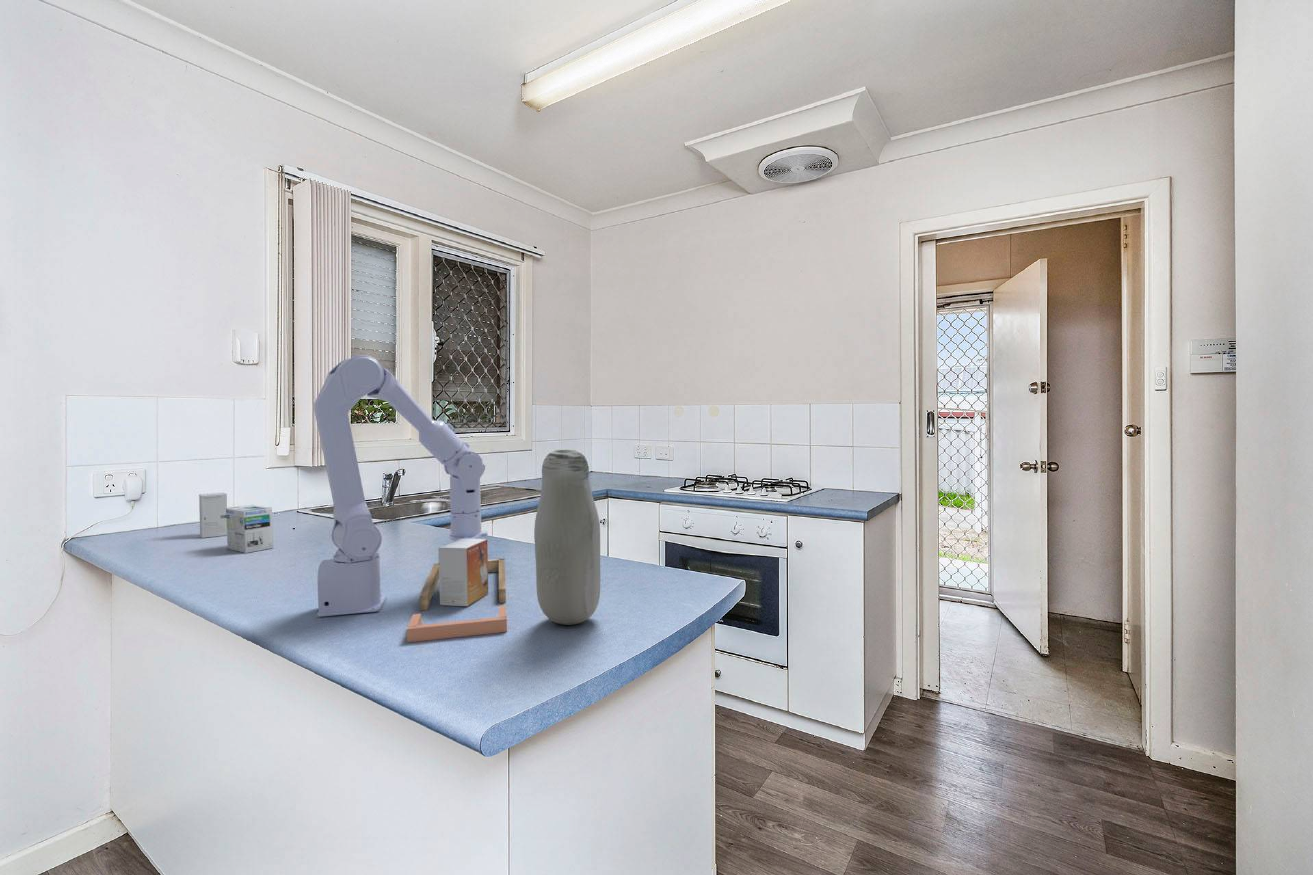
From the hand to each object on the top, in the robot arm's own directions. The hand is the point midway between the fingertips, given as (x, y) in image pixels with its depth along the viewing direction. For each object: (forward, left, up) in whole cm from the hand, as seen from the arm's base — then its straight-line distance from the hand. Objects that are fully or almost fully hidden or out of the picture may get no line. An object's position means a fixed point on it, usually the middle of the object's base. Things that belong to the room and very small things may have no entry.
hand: (467, 579), depth 114 cm
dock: (0, -24, -1) cm, 24 cm away
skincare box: (-73, +73, -1) cm, 103 cm away
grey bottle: (+17, -26, -1) cm, 31 cm away
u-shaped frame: (0, -2, -1) cm, 2 cm away
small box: (0, -9, -1) cm, 9 cm away
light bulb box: (-56, +51, -2) cm, 76 cm away
